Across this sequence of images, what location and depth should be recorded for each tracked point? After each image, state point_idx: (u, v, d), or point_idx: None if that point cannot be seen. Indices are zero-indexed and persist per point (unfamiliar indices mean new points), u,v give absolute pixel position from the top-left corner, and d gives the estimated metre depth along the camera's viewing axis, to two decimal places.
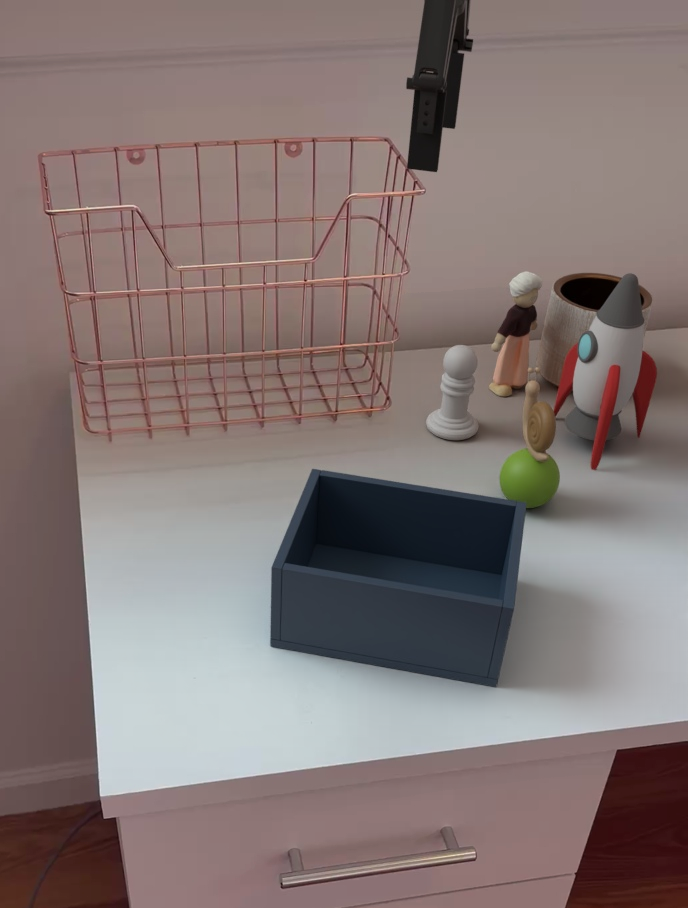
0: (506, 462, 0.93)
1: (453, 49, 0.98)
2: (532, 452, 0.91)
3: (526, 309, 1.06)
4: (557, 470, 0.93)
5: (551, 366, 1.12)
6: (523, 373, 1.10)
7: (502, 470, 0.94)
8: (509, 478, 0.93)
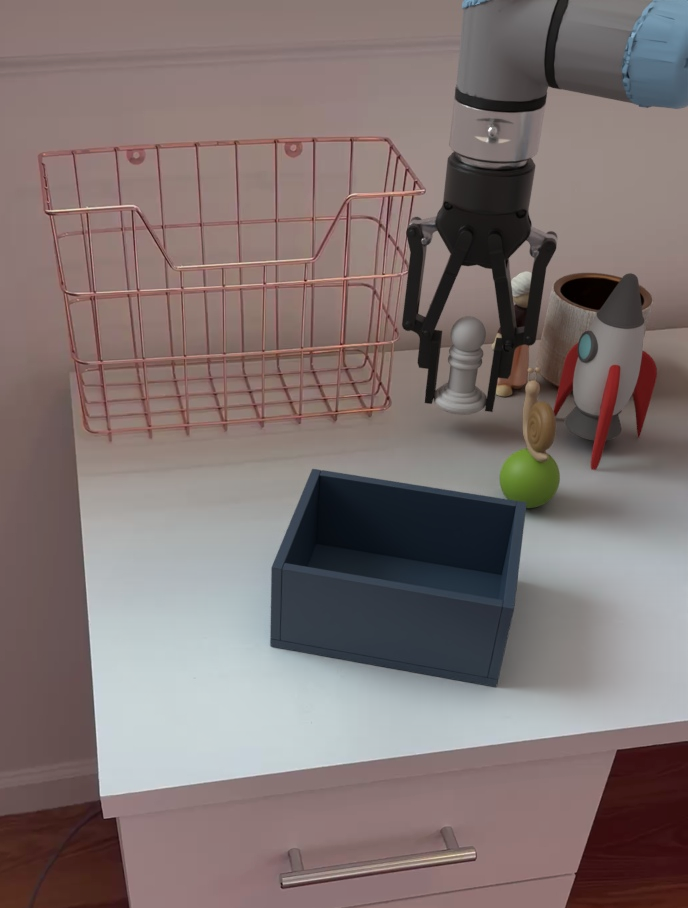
0: (506, 462, 0.93)
1: None
2: (532, 452, 0.91)
3: (526, 309, 1.06)
4: (557, 470, 0.93)
5: (551, 366, 1.12)
6: (523, 373, 1.10)
7: (502, 470, 0.94)
8: (509, 478, 0.93)
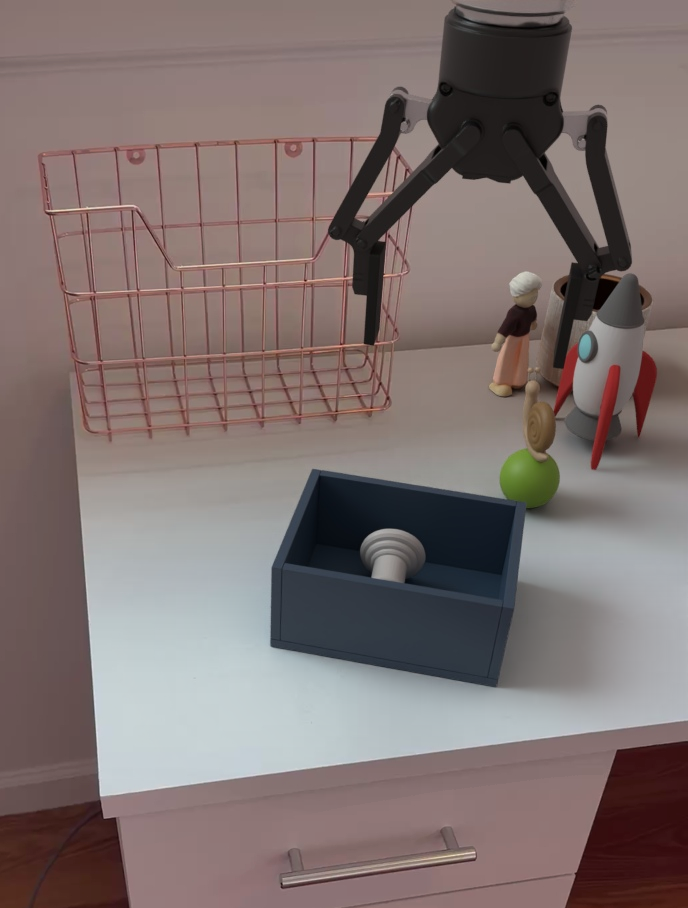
0: (506, 462, 0.93)
1: None
2: (532, 452, 0.91)
3: (526, 309, 1.06)
4: (557, 470, 0.93)
5: (551, 366, 1.12)
6: (523, 373, 1.10)
7: (502, 470, 0.94)
8: (509, 478, 0.93)
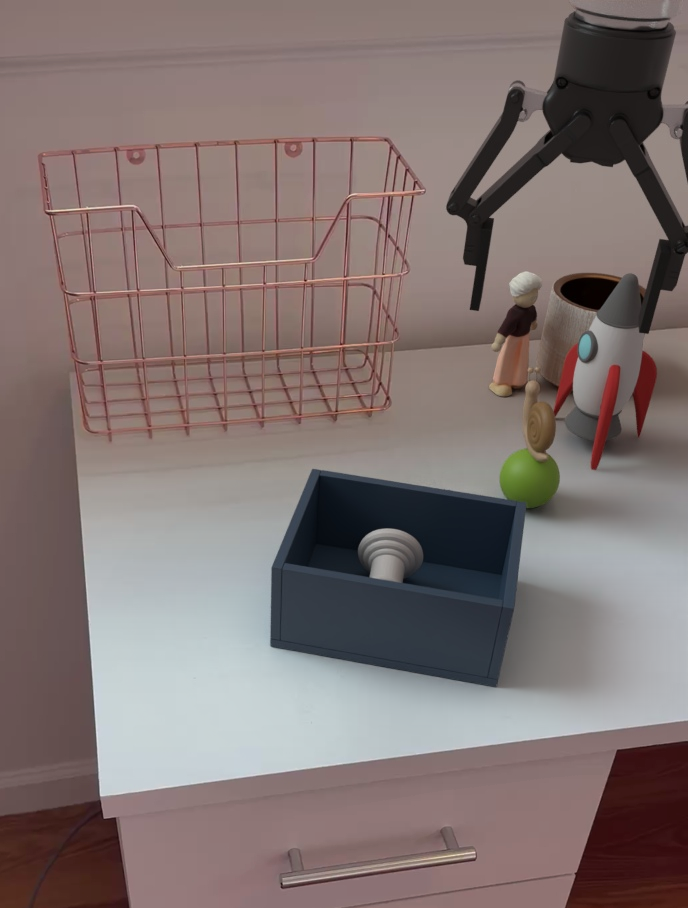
0: (506, 462, 0.93)
1: None
2: (532, 452, 0.91)
3: (526, 309, 1.06)
4: (557, 470, 0.93)
5: (551, 366, 1.12)
6: (523, 373, 1.10)
7: (502, 470, 0.94)
8: (509, 478, 0.93)
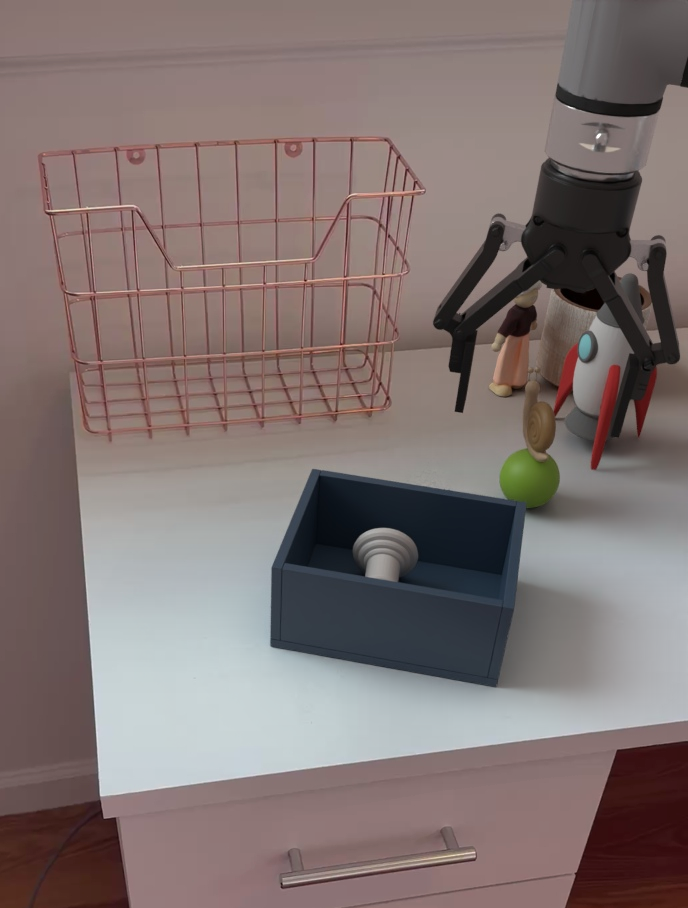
0: (506, 462, 0.93)
1: None
2: (532, 452, 0.91)
3: (526, 309, 1.06)
4: (557, 470, 0.93)
5: (551, 366, 1.12)
6: (523, 373, 1.10)
7: (502, 470, 0.94)
8: (509, 478, 0.93)
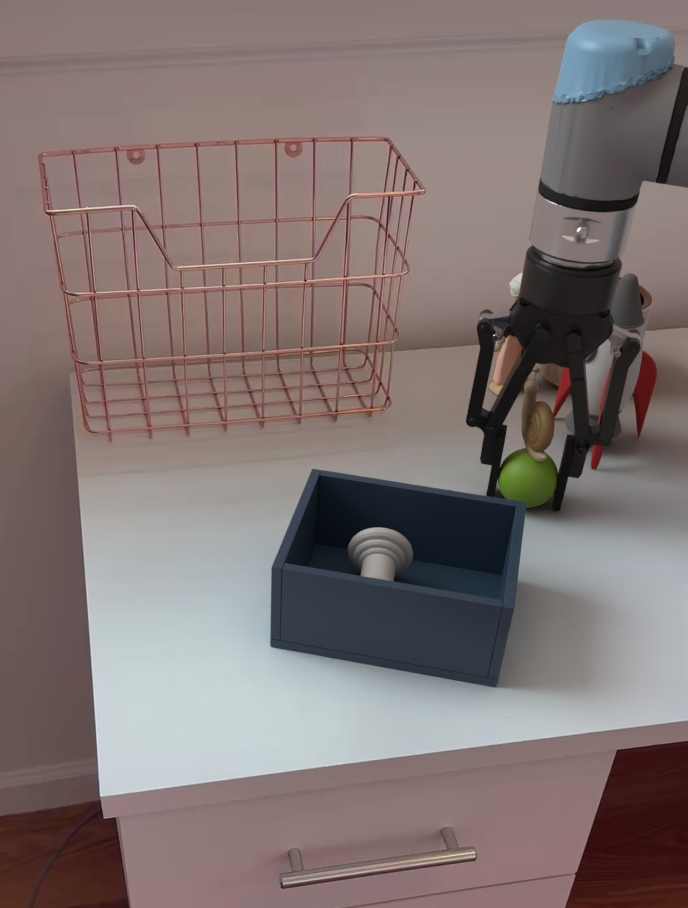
0: (504, 462, 0.93)
1: None
2: (531, 452, 0.91)
3: None
4: (555, 470, 0.93)
5: (551, 366, 1.12)
6: None
7: (500, 470, 0.94)
8: (508, 478, 0.93)
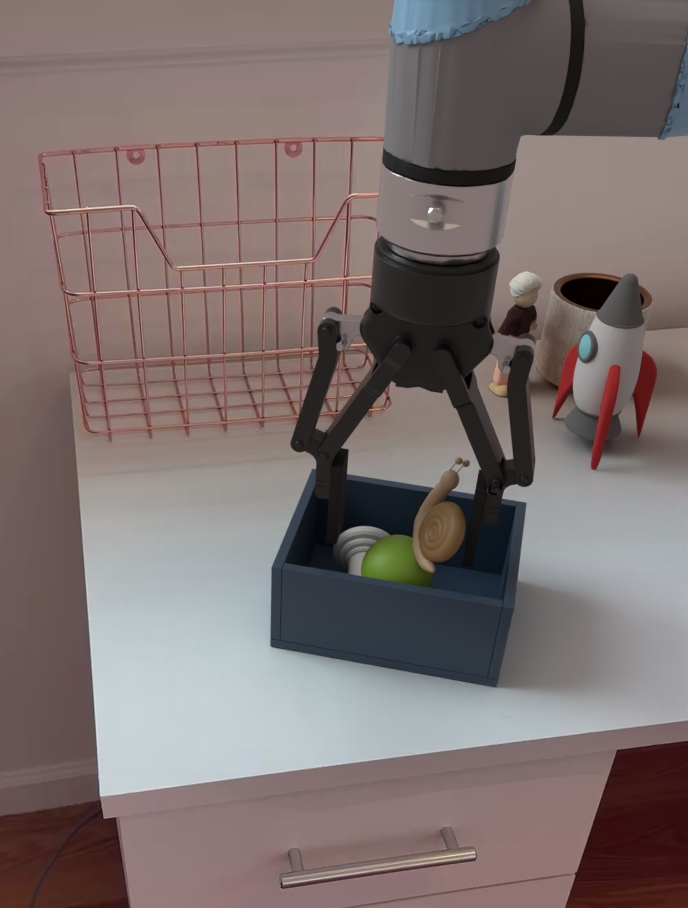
0: (382, 545, 0.75)
1: None
2: (418, 553, 0.74)
3: (526, 309, 1.06)
4: (432, 579, 0.76)
5: (551, 366, 1.12)
6: None
7: (373, 552, 0.75)
8: (379, 568, 0.75)
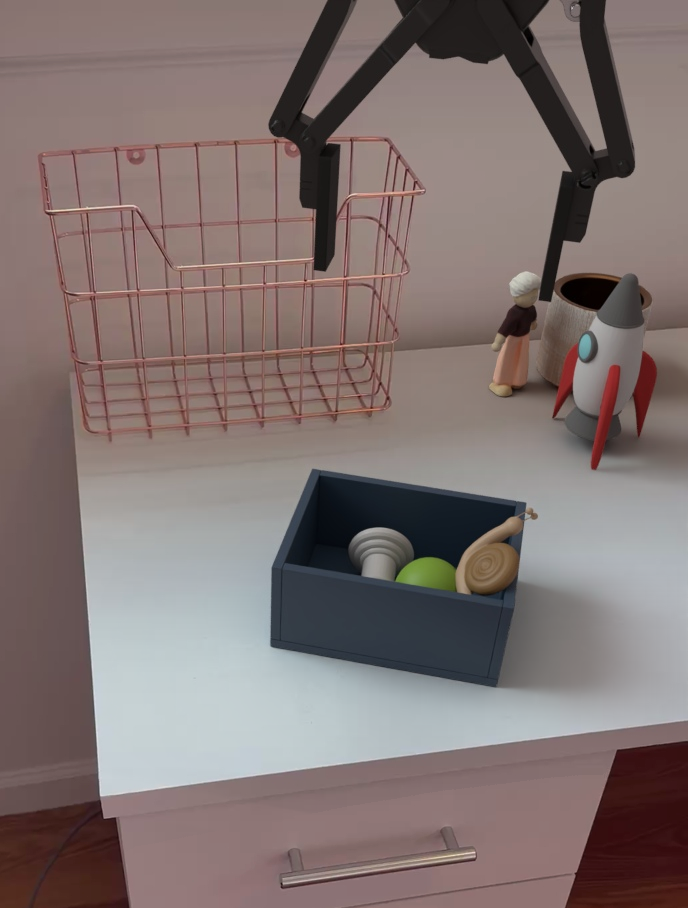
0: (428, 562, 0.77)
1: (325, 143, 0.59)
2: (460, 580, 0.76)
3: (526, 309, 1.06)
4: None
5: (551, 366, 1.12)
6: (523, 373, 1.10)
7: (417, 566, 0.77)
8: (419, 582, 0.76)
